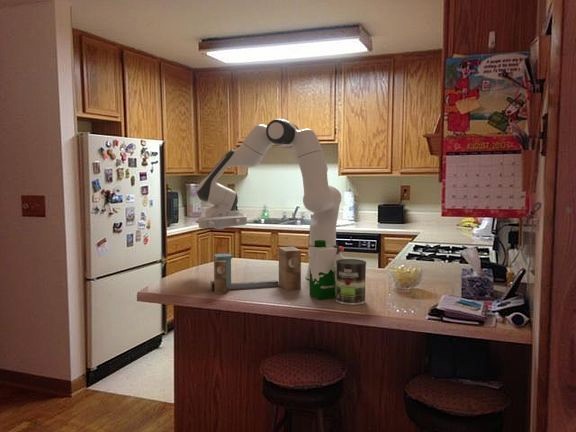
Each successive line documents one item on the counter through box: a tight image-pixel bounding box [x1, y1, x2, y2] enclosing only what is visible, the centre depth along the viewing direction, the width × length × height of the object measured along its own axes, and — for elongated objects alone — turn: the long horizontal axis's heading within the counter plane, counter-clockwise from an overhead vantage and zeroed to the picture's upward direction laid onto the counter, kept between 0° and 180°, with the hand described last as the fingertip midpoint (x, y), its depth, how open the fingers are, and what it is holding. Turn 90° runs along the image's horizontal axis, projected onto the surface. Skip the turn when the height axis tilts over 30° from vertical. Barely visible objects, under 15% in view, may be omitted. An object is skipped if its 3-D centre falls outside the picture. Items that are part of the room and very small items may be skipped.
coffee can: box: [335, 258, 367, 306], centre depth 171 cm, size 10×10×14 cm
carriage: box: [213, 252, 234, 285], centre depth 188 cm, size 6×6×11 cm
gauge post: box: [213, 259, 228, 295], centre depth 182 cm, size 4×4×12 cm
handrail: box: [210, 279, 279, 292], centre depth 191 cm, size 26×4×3 cm, turn 107°
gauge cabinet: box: [278, 246, 302, 291], centre depth 192 cm, size 6×11×15 cm, turn 17°
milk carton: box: [308, 240, 337, 300], centre depth 177 cm, size 9×9×20 cm
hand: (226, 224), depth 199 cm, fingers open, 8 cm apart
